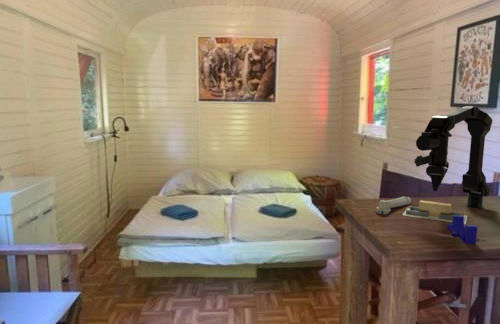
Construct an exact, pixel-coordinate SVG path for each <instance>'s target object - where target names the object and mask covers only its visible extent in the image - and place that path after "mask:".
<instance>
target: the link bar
mask: <svg viewBox="0 0 500 324" xmlns="http://www.w3.org/2000/svg"><path fill="white" fill-rule="evenodd" d="M418 203H419V204H418V207H419V211H421V212H428V216H436V217H439V215H440V214H443V215H450V214H451V212H452V203H446V202H439V201H438V202H436V201H431V200H430V201H428V200H421V199H420V200H419V202H418Z"/></svg>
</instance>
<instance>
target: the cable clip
mask: <svg viewBox="0 0 500 324" xmlns="http://www.w3.org/2000/svg"><path fill="white" fill-rule="evenodd" d="M446 224H447V229H448V230H449V231H450V235H451V236H452V237H453V238H458V239H460V240H461V241H462V242H463V243H465V244H467V245H468V244H469V245H477V234H478V226H477V225H475V224H473V225H471V224H464V217H463V216H459V215H453V218H452V222H447V223H446Z"/></svg>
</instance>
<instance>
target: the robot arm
mask: <svg viewBox="0 0 500 324" xmlns="http://www.w3.org/2000/svg"><path fill="white" fill-rule="evenodd" d="M461 122H465V124H466V125H467V132H468V133H469V135H470V146H469V147H470V149H469V159H468V168H467V171H466V172H465V173H464V174H462V181H461V187H462V193H465V194H467V201H466V204H465V207H466V208H472V209H473V208H474V209H481V210H484V208H485V207H484V205H483V204H484V197H488V196H489V195H490V192H491V188H489V186H488V184H487V178H486V175H485V174H484V172H483V165H484V164H483V163H484V155H485V154H484V152H485V140H486V136H487V135H488V133H490V131H491V127H492V125H493V119H492V117H491V116H490V115H489V114H488V113H487V112H485V111H483V110H481V109H480V108H479V107H477V106H476V105H473V106H472V105H465V106H463V107H462V108H460V109H457V110H454V111H453V112H450V113H447V114H440V115H433V116H432V117H430V120H429V122H428V124H427V126H426V127H425V129H424V131H422V132H421V135H419V136H418V137H417V139H416V141H415V146H416V148H417V149H418V150H419V151H430V152H428V154H425V155H422V154H420V155H417V156H416V157H415V158H414V159H413V160H414V161H413V162H414V164H415V167H416V168H417V167H420V166H423V165H427V164H428V165H427V167H426V168H425V174H426V175H427V176H428V177H429V178H430V181H431V185H432V190H433V192H438V189H439V187H440V185H441V184H442V182H443V180H444V178H445V176H446V174H447V172H448V170H449V167H450V162H449V161H448V154H449V150H448V149H449V138H451V137H453V136H452V133H450V131H452V130H453V129H455V126H456V125H457V124H458V123H461Z"/></svg>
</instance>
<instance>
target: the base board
mask: <svg viewBox="0 0 500 324" xmlns="http://www.w3.org/2000/svg"><path fill="white" fill-rule="evenodd" d="M408 208H409V207H406V209H405V210H404V212H403V213H402V216H406V217H412V218H419V219H426V220H434V221H439V222H440V221H441V222H447V223H452V220H446V219H439V217H436V216H428V217H425V216H418V215H411V214H406V210H408ZM467 219H468V215H465V214H464V225H467Z"/></svg>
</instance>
